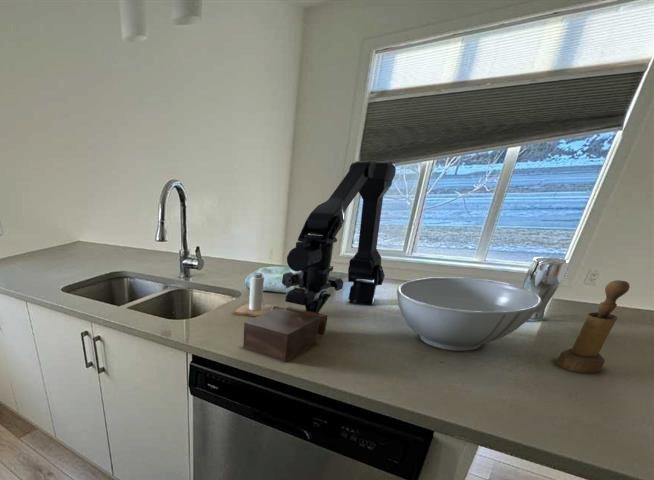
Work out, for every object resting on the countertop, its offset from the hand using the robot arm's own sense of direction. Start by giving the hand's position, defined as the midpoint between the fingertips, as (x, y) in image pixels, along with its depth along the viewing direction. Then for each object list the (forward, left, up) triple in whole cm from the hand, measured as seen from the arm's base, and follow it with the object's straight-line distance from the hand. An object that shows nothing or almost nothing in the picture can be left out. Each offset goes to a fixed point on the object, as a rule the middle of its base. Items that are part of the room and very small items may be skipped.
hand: (310, 320), depth 111 cm
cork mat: (+19, -10, -3) cm, 22 cm away
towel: (+21, -38, -3) cm, 43 cm away
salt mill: (+19, -10, -2) cm, 21 cm away
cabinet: (+4, +14, -3) cm, 15 cm away
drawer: (+2, +8, -2) cm, 8 cm away
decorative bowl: (-32, -5, -3) cm, 32 cm away
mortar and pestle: (-54, 0, -3) cm, 54 cm away
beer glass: (-49, -29, -3) cm, 57 cm away
